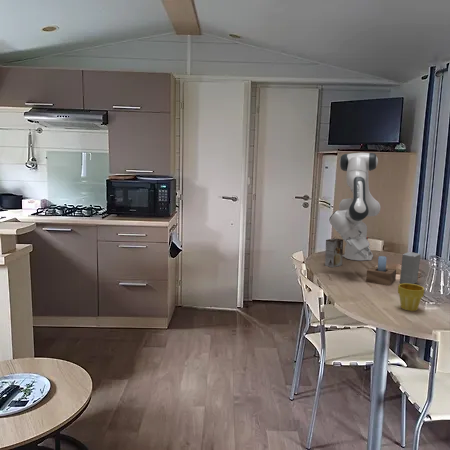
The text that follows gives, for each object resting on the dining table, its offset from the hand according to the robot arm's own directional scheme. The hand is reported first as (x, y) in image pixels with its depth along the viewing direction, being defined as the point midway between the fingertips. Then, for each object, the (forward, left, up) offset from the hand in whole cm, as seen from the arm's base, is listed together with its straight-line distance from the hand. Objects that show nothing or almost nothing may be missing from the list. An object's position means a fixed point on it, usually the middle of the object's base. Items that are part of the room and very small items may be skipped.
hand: (368, 256), depth 232 cm
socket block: (0, +7, -12) cm, 14 cm away
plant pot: (+37, +29, -13) cm, 49 cm away
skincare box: (-5, +20, -13) cm, 24 cm away
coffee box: (-18, -26, -13) cm, 34 cm away
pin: (0, +7, -11) cm, 13 cm away
